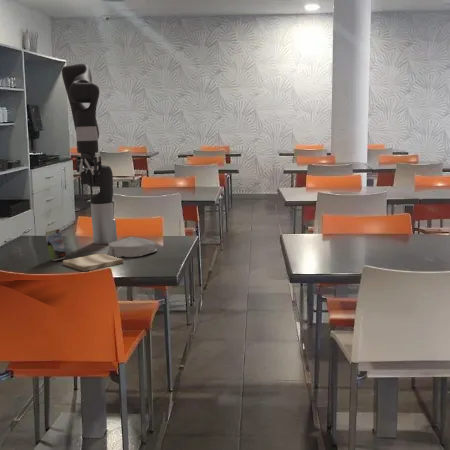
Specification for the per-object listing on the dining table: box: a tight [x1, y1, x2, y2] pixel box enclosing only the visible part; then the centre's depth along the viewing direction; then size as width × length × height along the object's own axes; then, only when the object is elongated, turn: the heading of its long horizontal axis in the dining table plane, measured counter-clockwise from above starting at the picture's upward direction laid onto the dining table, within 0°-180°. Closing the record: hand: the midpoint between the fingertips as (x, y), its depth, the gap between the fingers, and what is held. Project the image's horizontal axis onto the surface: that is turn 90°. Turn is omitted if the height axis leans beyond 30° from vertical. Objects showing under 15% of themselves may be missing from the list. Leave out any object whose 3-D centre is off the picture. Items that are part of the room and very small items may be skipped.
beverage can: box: [44, 228, 67, 262], centre depth 241 cm, size 6×7×12 cm
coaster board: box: [62, 252, 124, 272], centre depth 233 cm, size 16×16×2 cm
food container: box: [107, 236, 158, 258], centre depth 251 cm, size 20×20×7 cm
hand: (89, 184), depth 229 cm, fingers open, 8 cm apart
